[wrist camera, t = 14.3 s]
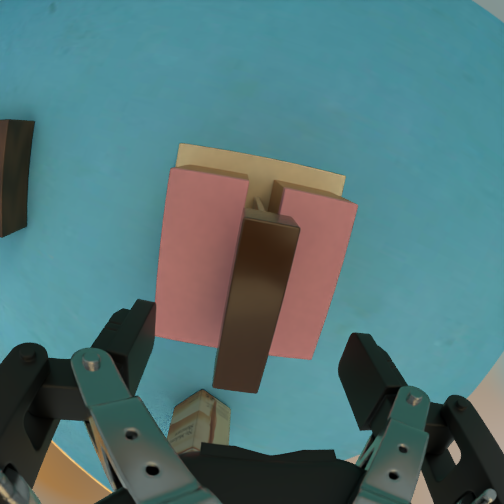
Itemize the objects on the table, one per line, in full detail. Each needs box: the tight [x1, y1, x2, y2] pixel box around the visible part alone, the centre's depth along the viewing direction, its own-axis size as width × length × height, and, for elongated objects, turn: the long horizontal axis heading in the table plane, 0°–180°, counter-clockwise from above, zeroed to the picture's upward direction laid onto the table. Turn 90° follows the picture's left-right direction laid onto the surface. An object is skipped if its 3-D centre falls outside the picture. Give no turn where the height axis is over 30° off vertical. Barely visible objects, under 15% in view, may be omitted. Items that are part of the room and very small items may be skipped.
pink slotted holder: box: [155, 143, 358, 360], centre depth 22 cm, size 14×13×7 cm
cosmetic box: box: [167, 390, 231, 454], centre depth 26 cm, size 5×4×10 cm
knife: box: [212, 197, 301, 394], centre depth 19 cm, size 9×2×11 cm, turn 169°
